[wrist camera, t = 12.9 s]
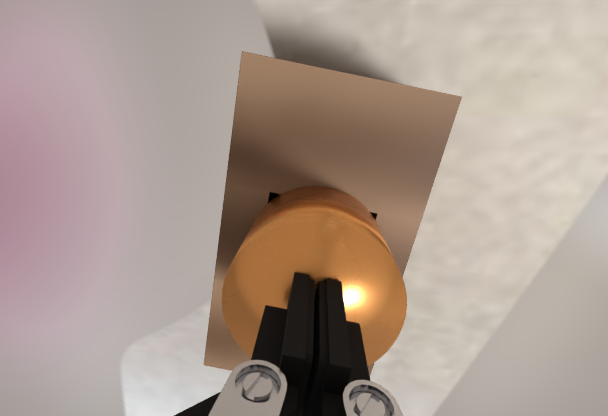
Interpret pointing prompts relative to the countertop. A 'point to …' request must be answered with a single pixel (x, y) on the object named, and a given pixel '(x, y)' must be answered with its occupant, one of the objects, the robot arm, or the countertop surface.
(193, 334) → the countertop surface
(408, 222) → the block
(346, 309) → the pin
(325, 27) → the countertop surface
